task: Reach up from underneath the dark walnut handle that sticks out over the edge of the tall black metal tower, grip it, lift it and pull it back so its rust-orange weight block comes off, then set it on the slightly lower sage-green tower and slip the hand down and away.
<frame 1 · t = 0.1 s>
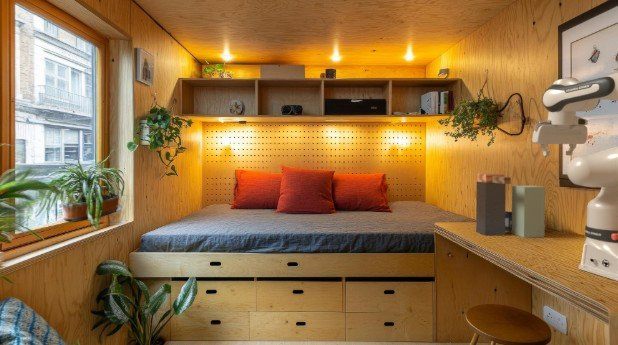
hand: (557, 155, 141), 39 cm above the table, tool pointing down, fingers open, 8 cm apart
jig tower: (490, 233, 177), on the table
vhs cassette tape: (501, 230, 186), on the table
sage tower: (527, 235, 172), on the table
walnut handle: (495, 182, 172), point 26 cm above the table, touching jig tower
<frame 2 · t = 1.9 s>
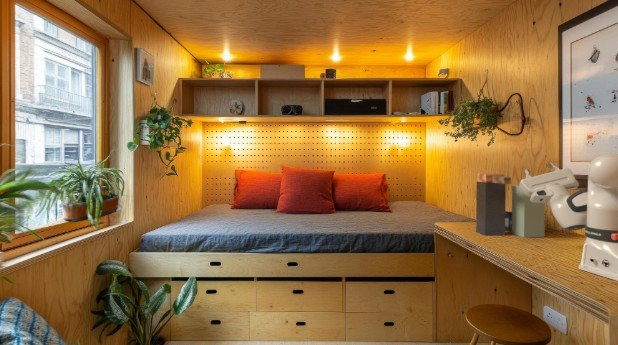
hand: (537, 166, 154), 34 cm above the table, tool pointing upward, fingers open, 8 cm apart
nothing on the table moved.
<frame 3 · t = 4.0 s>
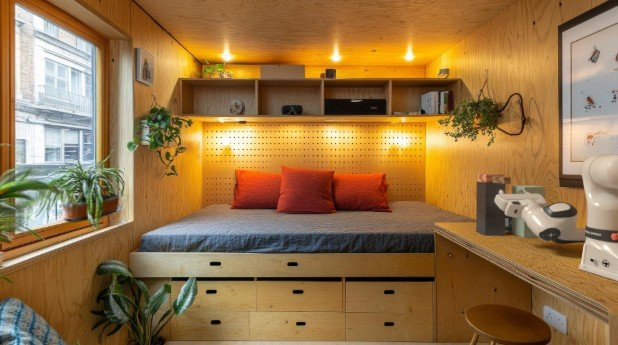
hand: (510, 190, 161), 23 cm above the table, tool pointing upward, fingers open, 8 cm apart
nothing on the table moved.
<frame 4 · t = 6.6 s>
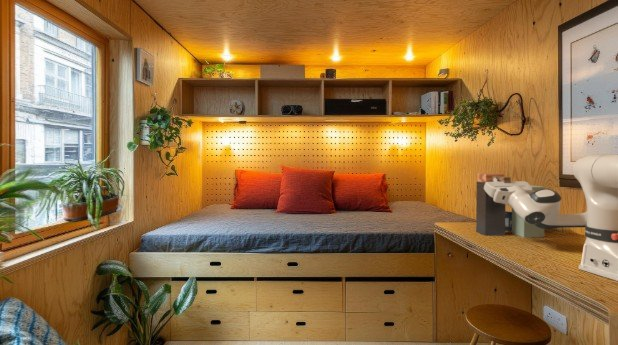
hand: (499, 178, 169), 28 cm above the table, tool pointing upward, fingers closed on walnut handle, 3 cm apart
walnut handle: (495, 182, 172), point 26 cm above the table, touching gripper, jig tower
everything else where it was.
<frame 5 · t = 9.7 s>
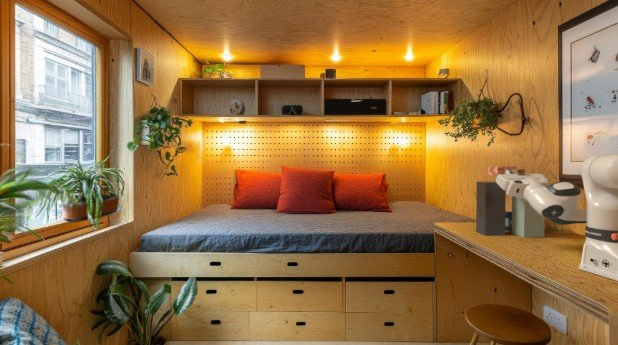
hand: (512, 171, 159), 32 cm above the table, tool pointing upward, fingers closed on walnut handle, 3 cm apart
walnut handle: (507, 175, 162), point 30 cm above the table, touching gripper
everything else where it was.
when the fingers open (27 cm above the table, at t = 13.3 s): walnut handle drops 1 cm, resting on sage tower.
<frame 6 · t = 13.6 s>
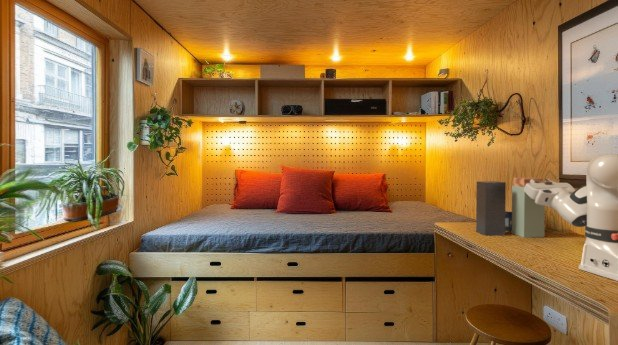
hand: (538, 180, 164), 27 cm above the table, tool pointing upward, fingers open, 5 cm apart
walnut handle: (533, 186, 168), point 24 cm above the table, touching sage tower
everything else where it was.
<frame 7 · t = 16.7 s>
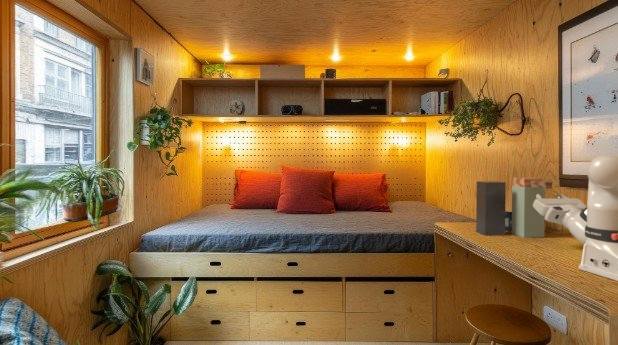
hand: (548, 195, 157), 21 cm above the table, tool pointing upward, fingers open, 8 cm apart
nothing on the table moved.
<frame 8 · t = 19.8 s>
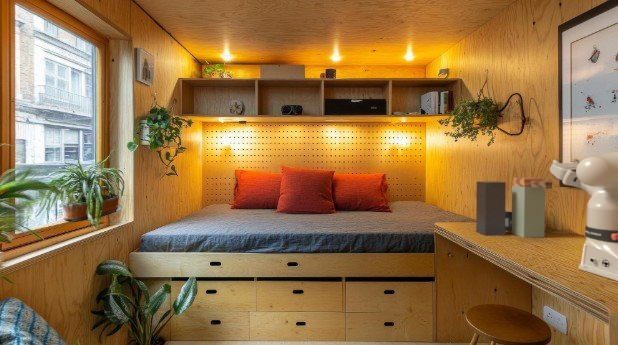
hand: (565, 160, 156), 36 cm above the table, tool pointing upward, fingers open, 8 cm apart
nothing on the table moved.
at the end: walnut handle inside the target area on the sage tower (0.4 cm from its centre), point 24.0 cm above the sage tower's base; the gripper is holding nothing; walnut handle tilted 0° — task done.
